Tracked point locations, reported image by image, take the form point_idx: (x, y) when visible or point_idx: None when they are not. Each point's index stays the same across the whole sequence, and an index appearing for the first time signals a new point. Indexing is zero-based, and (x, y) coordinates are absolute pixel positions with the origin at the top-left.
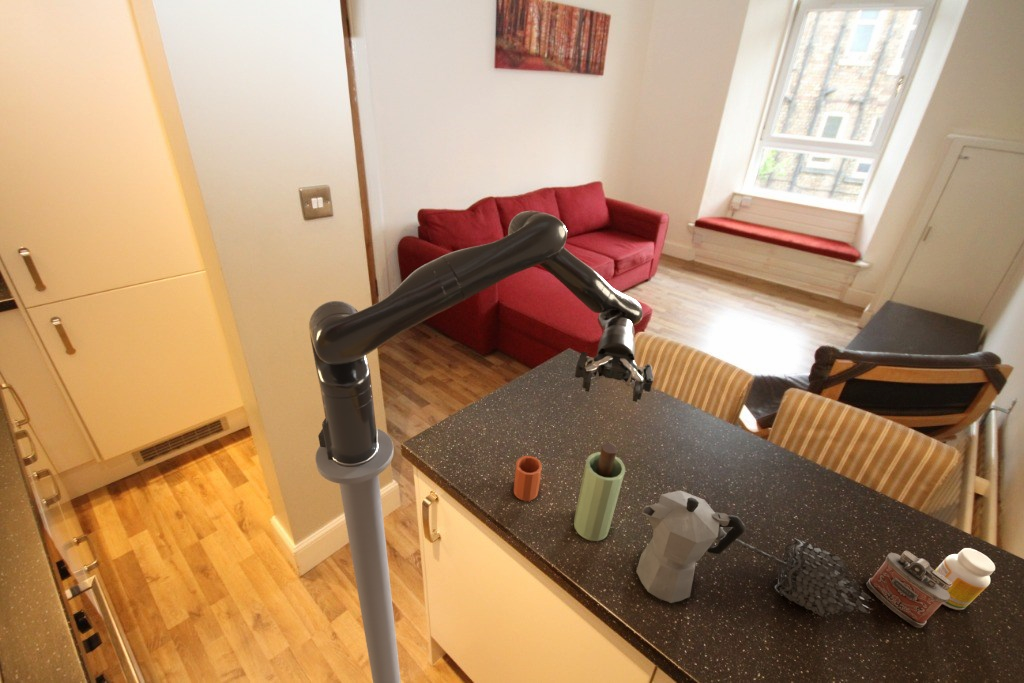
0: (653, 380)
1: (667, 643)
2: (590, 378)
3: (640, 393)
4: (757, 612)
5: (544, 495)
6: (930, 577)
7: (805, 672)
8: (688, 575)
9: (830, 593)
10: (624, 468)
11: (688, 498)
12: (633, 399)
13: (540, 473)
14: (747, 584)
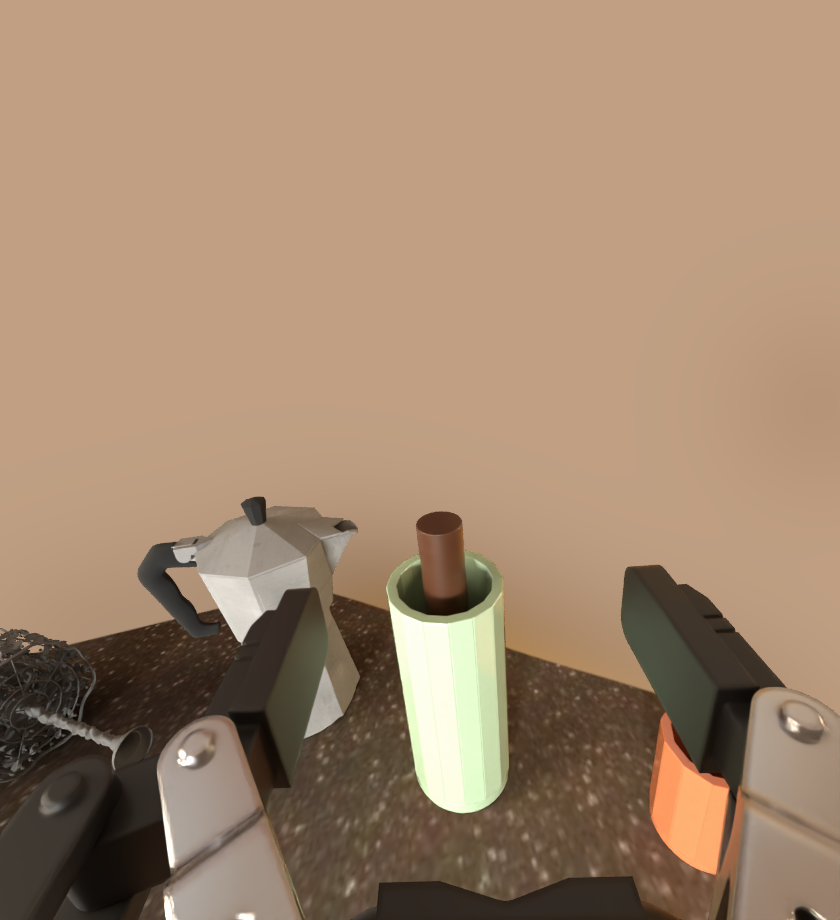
0: (35, 793)
1: (331, 603)
2: (661, 596)
3: (274, 611)
4: (156, 681)
5: (630, 828)
6: None
7: (152, 625)
8: None
9: (27, 632)
10: (388, 589)
11: (259, 503)
12: (325, 629)
13: (661, 751)
14: (130, 729)
